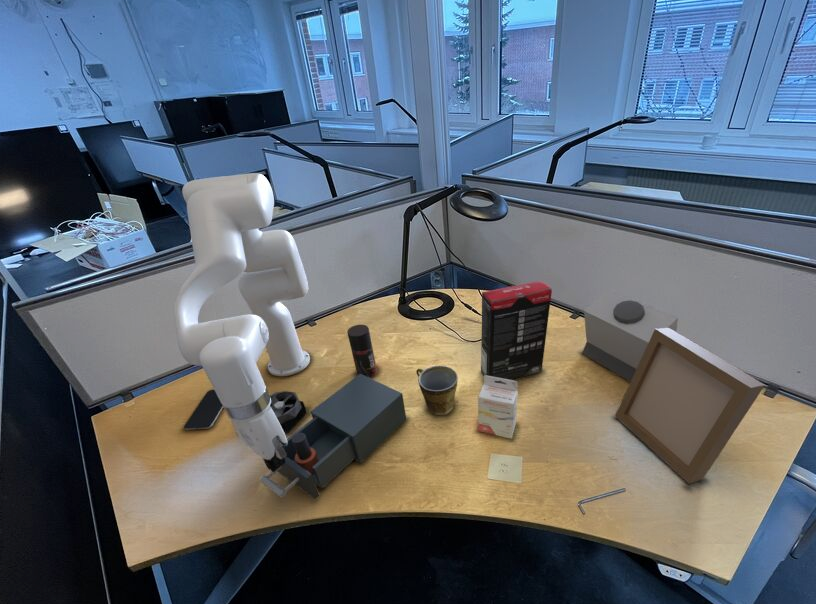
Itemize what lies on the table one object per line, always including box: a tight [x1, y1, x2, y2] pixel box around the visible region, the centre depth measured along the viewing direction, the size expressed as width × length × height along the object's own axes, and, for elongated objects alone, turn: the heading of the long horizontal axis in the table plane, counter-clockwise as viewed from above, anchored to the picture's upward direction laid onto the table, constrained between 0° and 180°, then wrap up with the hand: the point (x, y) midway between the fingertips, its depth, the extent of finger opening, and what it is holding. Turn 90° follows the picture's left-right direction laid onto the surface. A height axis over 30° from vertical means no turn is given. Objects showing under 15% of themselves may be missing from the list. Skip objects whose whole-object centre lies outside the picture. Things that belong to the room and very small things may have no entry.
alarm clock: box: [581, 288, 679, 382], centre depth 114 cm, size 20×16×20 cm
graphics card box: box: [480, 280, 553, 383], centre depth 111 cm, size 17×7×27 cm, turn 108°
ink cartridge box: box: [477, 375, 519, 439], centre depth 97 cm, size 9×5×15 cm, turn 71°
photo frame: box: [614, 328, 766, 484], centre depth 89 cm, size 15×22×25 cm
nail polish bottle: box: [292, 433, 319, 475], centre depth 89 cm, size 4×4×10 cm
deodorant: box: [346, 324, 378, 378], centre depth 119 cm, size 6×6×15 cm
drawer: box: [259, 417, 357, 500], centre depth 91 cm, size 20×13×7 cm, turn 145°
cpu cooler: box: [269, 390, 307, 434], centre depth 107 cm, size 10×6×10 cm
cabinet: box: [310, 374, 407, 464], centre depth 101 cm, size 17×15×9 cm
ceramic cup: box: [416, 365, 459, 416], centre depth 107 cm, size 13×10×10 cm
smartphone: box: [183, 389, 224, 431], centre depth 113 cm, size 7×1×15 cm
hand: (277, 465), depth 84 cm, fingers closed
